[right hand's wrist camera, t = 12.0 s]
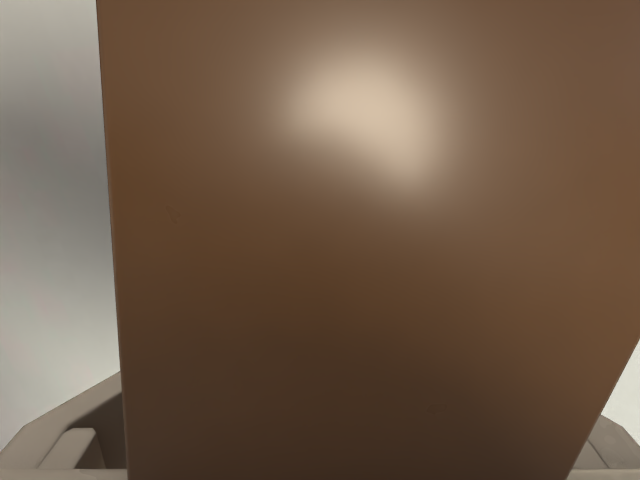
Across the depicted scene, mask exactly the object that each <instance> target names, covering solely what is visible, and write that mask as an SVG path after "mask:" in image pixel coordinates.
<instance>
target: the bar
mask: <svg viewBox="0 0 640 480" xmlns="http://www.w3.org/2000/svg"><path fill="white" fill-rule="evenodd" d="M96 8H97V23H98V38H99V53H100V69H101V84H102V99H103V114H104V129H105V145H106V160H107V175H108V190H109V206H110V221H111V236H112V251H113V266H114V282H115V297H116V312H117V327H118V342H119V358H120V373H121V388H122V403H123V419H124V434H125V449H126V464H127V479H128V480H566V479H567V477H568V475H569V474H570V472H571V470H572V468H573V466H574V464H575V462H576V460H577V458H578V456H579V454H580V452H581V451H582V449H583V447H584V445H585V443H586V441H587V439H588V437H589V435H590V433H591V431H592V430H593V428H594V426H595V424H596V422H597V420H598V418H599V416H600V414H601V412H602V410H603V408H604V407H605V405H606V403H607V401H608V399H609V397H610V395H611V393H612V391H613V389H614V387H615V385H616V384H617V382H618V380H619V378H620V376H621V374H622V372H623V370H624V368H625V366H626V364H627V362H628V361H629V359H630V357H631V355H632V353H633V351H634V349H635V347H636V345H637V343H638V341H639V339H640V0H96Z"/></svg>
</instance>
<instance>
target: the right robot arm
mask: <svg viewBox="0 0 640 480" xmlns="http://www.w3.org/2000/svg"><path fill="white" fill-rule="evenodd" d="M0 480H128V479H127V464H126V449H125V434H124V419H123V403H122V388H121V373H120V371H119V372H118V373H116V374H114V375H112V376H111V377H109V378H107V379H105V380H104V381H102V382H100V383H98V384H97V385H95V386H93V387H91V388H90V389H88V390H86V391H84V392H83V393H81V394H79V395H77V396H76V397H74V398H72V399H70V400H69V401H67V402H65V403H63V404H61V405H60V406H58V407H56V408H54V409H53V410H51V411H49V412H47V413H46V414H44V415H42V416H40V417H39V418H37V419H35V420H33V421H32V422H30V423H28V424H26V425H25V426H23V427H22V428H21V430H20V431H19V432H18V433H17V434H16V435H15V436H14V438H13V439H12V440H11V441H10V442H9V443H8V444H7V446H6V447H5V448H4V449H3V450H2V451H1V453H0ZM566 480H640V446H639V445H638V444H637V443H636V441H635V440H634V439H633V438H632V437H631V436H630V435H629V434H628V432H627V431H626V430H625V429H624V428H623V427H622V426H620V425H618V424H617V423H615V422H613V421H611V420H610V419H608V418H606V417H604V416H603V415H601V414H600V416H599V418H598V420H597V422H596V424H595V426H594V428H593V430H592V431H591V433H590V435H589V437H588V439H587V441H586V443H585V445H584V447H583V449H582V451H581V452H580V454H579V456H578V458H577V460H576V462H575V464H574V466H573V468H572V470H571V472H570V474H569V475H568V477H567V479H566Z"/></svg>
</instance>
